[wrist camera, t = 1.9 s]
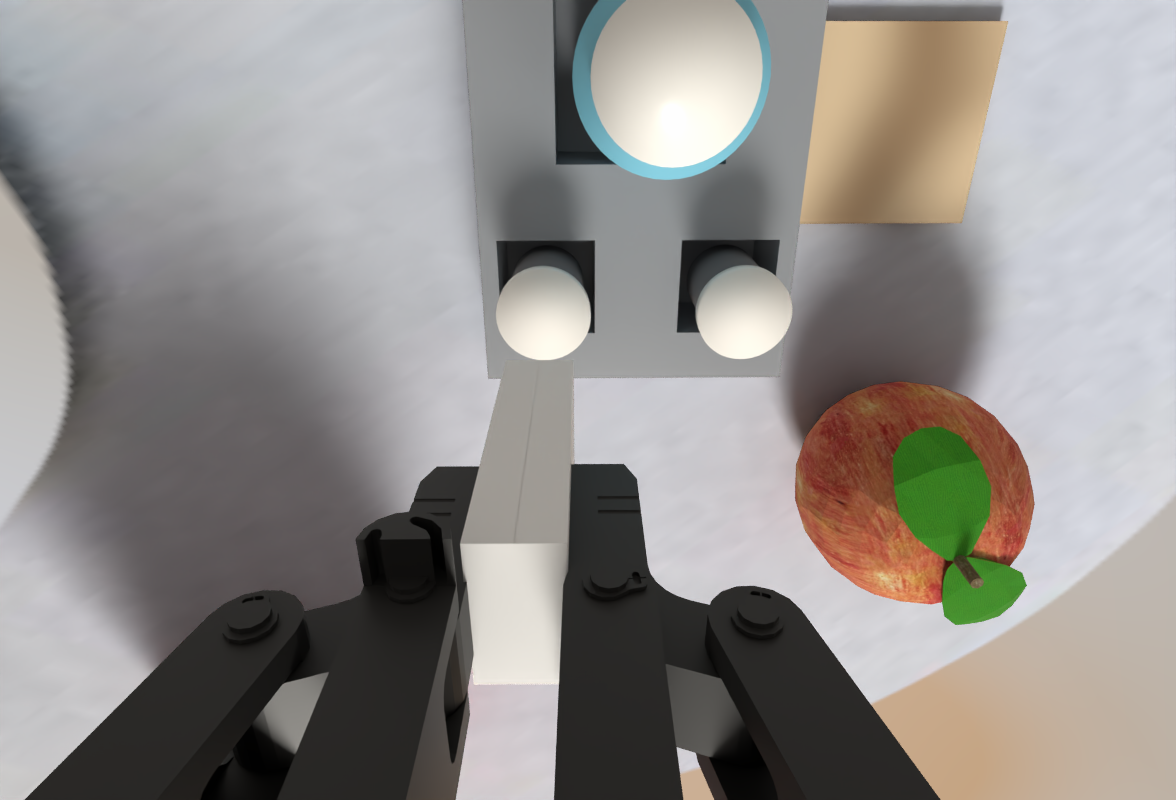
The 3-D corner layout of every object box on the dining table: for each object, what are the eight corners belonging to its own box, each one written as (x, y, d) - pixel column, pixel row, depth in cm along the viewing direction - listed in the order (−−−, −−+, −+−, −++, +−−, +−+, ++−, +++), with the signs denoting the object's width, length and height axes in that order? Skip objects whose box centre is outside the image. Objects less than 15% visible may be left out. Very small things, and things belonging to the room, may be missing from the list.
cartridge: (574, 134, 26) (573, 186, 16) (573, -3, 24) (570, -46, 14) (692, 134, 26) (769, 185, 16) (701, -3, 24) (794, -45, 14)
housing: (498, 340, 30) (488, 378, 27) (473, -81, 24) (455, -105, 20) (755, 338, 30) (779, 376, 27) (801, -80, 24) (842, -104, 20)
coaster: (780, 221, 28) (784, 223, 28) (804, 21, 25) (808, 21, 25) (955, 220, 28) (961, 223, 28) (1000, 21, 25) (1008, 20, 25)
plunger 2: (678, 318, 27) (694, 359, 23) (683, 239, 25) (701, 269, 22) (757, 318, 27) (786, 358, 23) (766, 239, 25) (798, 269, 22)
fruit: (799, 541, 35) (875, 708, 26) (748, 378, 31) (817, 509, 22) (974, 487, 34) (1118, 643, 25) (944, 310, 30) (1103, 420, 21)
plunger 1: (509, 319, 27) (498, 360, 23) (504, 239, 25) (493, 270, 22) (588, 318, 27) (590, 359, 23) (588, 239, 25) (590, 269, 22)
